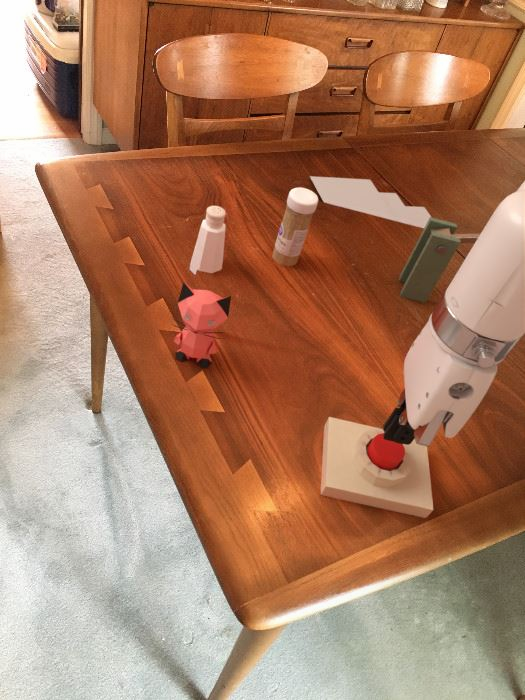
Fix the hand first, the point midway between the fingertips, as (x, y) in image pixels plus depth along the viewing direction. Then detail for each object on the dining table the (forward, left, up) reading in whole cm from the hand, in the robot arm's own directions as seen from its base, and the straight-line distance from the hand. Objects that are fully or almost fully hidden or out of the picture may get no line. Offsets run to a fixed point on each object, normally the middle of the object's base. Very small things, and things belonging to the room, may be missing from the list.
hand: (395, 436), depth 63 cm
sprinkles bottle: (+15, -36, -8) cm, 40 cm away
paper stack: (-3, -58, -8) cm, 59 cm away
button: (0, 0, -4) cm, 4 cm away
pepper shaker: (+27, -30, -8) cm, 41 cm away
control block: (0, 0, -8) cm, 8 cm away
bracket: (-7, -36, -8) cm, 38 cm away
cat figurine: (+25, -12, -8) cm, 29 cm away
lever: (-12, -36, +5) cm, 38 cm away
